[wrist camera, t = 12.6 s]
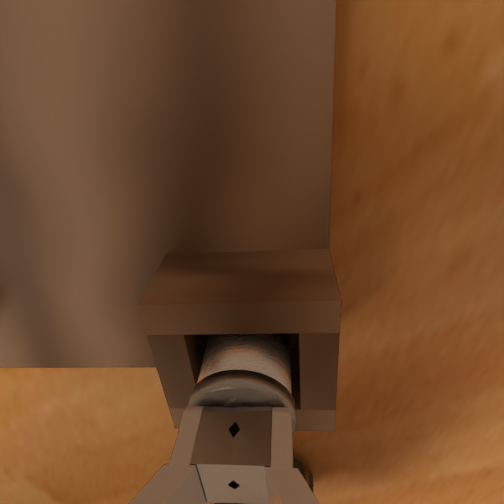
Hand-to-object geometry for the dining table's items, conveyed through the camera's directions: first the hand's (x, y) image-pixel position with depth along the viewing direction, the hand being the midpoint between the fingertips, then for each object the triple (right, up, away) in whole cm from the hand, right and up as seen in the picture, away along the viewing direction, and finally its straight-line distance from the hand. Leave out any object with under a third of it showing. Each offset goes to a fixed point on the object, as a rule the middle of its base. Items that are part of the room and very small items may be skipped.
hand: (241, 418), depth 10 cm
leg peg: (0, +2, +4) cm, 4 cm away
